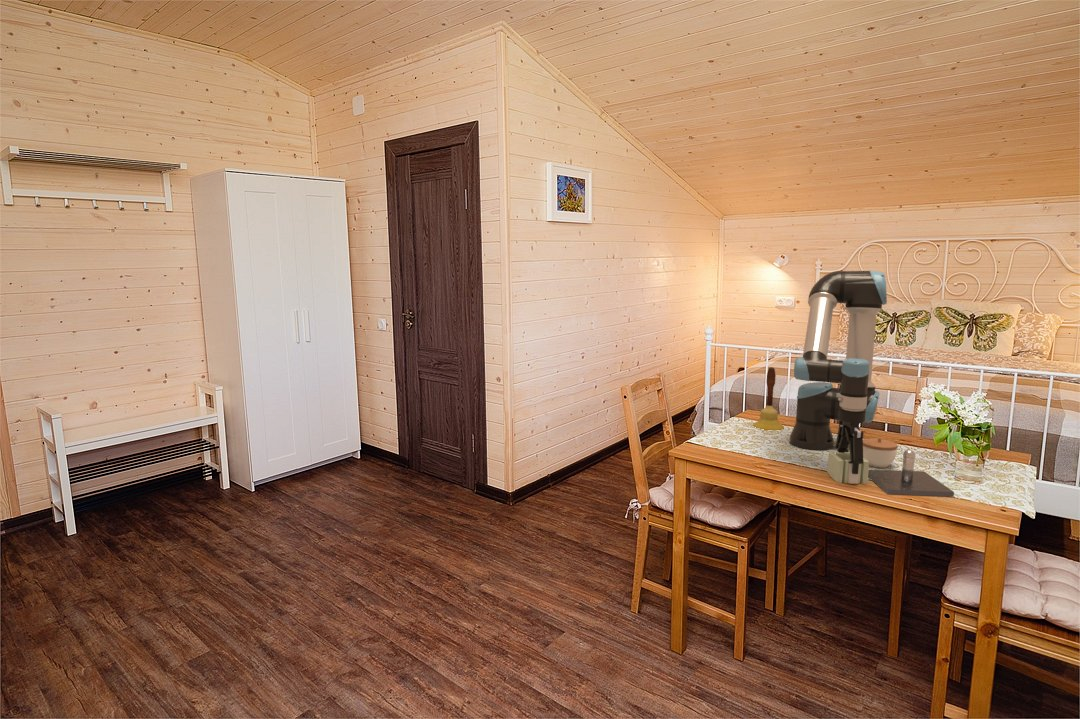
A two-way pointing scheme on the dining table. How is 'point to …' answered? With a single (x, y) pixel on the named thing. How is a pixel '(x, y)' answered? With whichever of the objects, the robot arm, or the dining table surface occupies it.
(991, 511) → the dining table surface
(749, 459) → the dining table surface
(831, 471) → the square link
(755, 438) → the dining table surface
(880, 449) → the lidded jar
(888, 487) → the keeper base
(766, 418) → the handbell
